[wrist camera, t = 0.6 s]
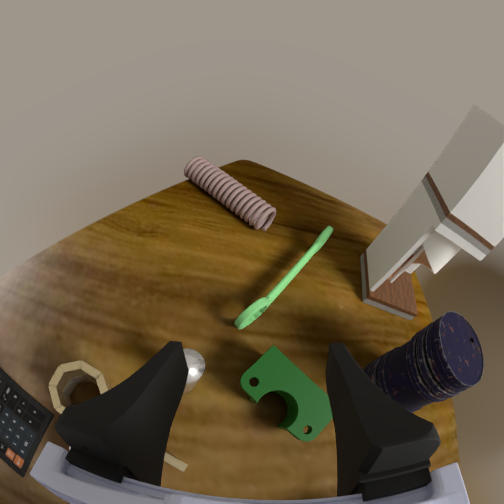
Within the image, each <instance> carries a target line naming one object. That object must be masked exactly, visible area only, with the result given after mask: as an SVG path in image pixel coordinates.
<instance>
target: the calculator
mask: <svg viewBox="0 0 504 504" xmlns="http://www.w3.org/2000/svg"><path fill="white" fill-rule="evenodd" d="M53 416H54V415H53V414H52V413H51V412H49V411H48V410H47V409H46V408H44V407H43V406H42V405H41V404H39V403H38V402H37V401H36V400H35V399H33V398H32V397H31V396H30V395H29V394H28V393H26V392H25V391H24V390H23V389H22V388H21V387H20V386H19V385H17V384H16V383H15V382H14V381H13V380H12V379H11V378H10V377H9V376H8V375H7V374H6V373H5V372H4V371H3V370H2V369H1V368H0V458H1V459H2V460H3V461H4V462H6V463H7V464H8V465H9V466H10V467H11V468H12V469H13V470H15V471H16V472H17V473H18V474H19V475H21V476H22V477H24V475H25V473H26V471H27V469H28V466H29V464H30V462H31V460H32V458H33V456H34V454H35V451H36V449H37V447H38V445H39V443H40V441H41V439H42V437H43V435H44V433H45V431H46V429H47V427H48V426H49V424H50V422H51V420H52V418H53Z"/></svg>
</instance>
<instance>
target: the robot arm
mask: <svg viewBox="0 0 504 504" xmlns="http://www.w3.org/2000/svg"><path fill="white" fill-rule="evenodd" d="M188 372H189V369H188V366H187V362H186V358H185V354H184V351H183V347H182V343H181V342H176V341H170V342H169V343H167V344H166V345H165V346H164V347H163V348H162V349H161V350H160V351H159V352H158V353H157V354H156V355H155V356H154V357H153V358H151V359H150V360H149V361H148V362H147V363H146V364H145V365H144V366H142V367H141V368H140V369H139V370H138V371H136V372H135V373H134V374H133V375H131V376H130V377H129V378H127V379H126V380H125V381H123V382H122V383H120V384H118V385H117V386H115V387H114V388H112V389H110V390H108V391H106V392H104V393H103V394H101V395H99V396H96V397H94V398H92V399H89V400H87V401H84V402H81V403H78V404H75V405H72V406H68V407H66V408H65V409H64V410H63V412H62V414H61V415H60V417H59V418H58V420H57V422H56V423H55V428H56V430H57V432H58V433H59V435H60V436H61V437H62V438H63V439H64V440H65V442H66V443H67V444H68V445H69V446H70V447H71V449H70V450H69V452H68V451H67V450H65V449H64V448H62V447H60V446H58V445H56V444H53V443H51V442H47V444H46V446H45V447H44V449H43V451H42V452H41V454H40V456H39V458H38V459H37V461H36V463H35V465H34V467H33V468H32V470H31V472H30V475H31V476H32V477H33V478H34V479H35V480H37V481H38V482H39V483H40V484H42V485H43V486H44V487H45V488H47V489H48V490H49V491H51V492H52V493H53V494H55V495H56V496H58V497H60V498H61V499H63V500H65V501H67V502H69V503H71V504H469V503H470V502H469V499H468V495H467V492H466V489H465V485H464V482H463V479H462V476H461V472H460V469H459V466H458V464H457V463H456V462H455V463H452V464H450V465H447V466H444V467H441V468H438V469H436V470H434V471H432V472H429V469H428V467H430V461H429V458H430V457H431V456H432V455H433V453H434V452H435V451H436V450H437V448H438V447H439V445H440V438H439V435H438V432H437V430H436V428H435V427H434V425H433V423H431V422H429V421H427V420H425V419H422V418H420V417H418V416H416V415H415V414H413V413H411V412H410V411H408V410H406V409H405V408H403V407H402V406H400V405H399V404H398V403H396V402H395V401H394V400H392V399H391V398H390V397H389V396H387V395H386V394H385V393H384V392H383V391H382V390H381V389H380V388H379V387H378V386H377V385H376V384H375V383H374V382H373V381H372V380H371V379H370V378H369V377H368V376H367V374H366V373H365V372H364V371H363V370H362V368H361V367H360V366H359V365H358V363H357V362H356V361H355V359H354V358H353V357H352V355H351V354H350V352H349V351H348V349H347V348H346V346H345V345H344V344H343V343H342V342H338V343H330V345H329V352H328V360H327V366H326V384H327V392H328V397H329V402H330V407H331V412H332V417H333V421H334V426H335V433H336V447H337V476H338V484H337V497H331V498H320V499H306V500H250V499H235V498H225V497H216V496H208V495H201V494H195V493H189V492H183V491H178V490H173V489H168V488H164V487H160V486H161V476H162V468H163V462H164V456H165V451H166V446H167V441H168V436H169V432H170V428H171V425H172V422H173V419H174V416H175V413H176V411H177V408H178V406H179V403H180V400H181V398H182V395H183V392H184V389H185V386H186V382H187V377H188Z"/></svg>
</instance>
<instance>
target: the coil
mask: <svg viewBox="0 0 504 504" xmlns="http://www.w3.org/2000/svg"><path fill="white" fill-rule="evenodd" d="M196 161H197V162H196ZM193 163H194V164H193ZM192 164H193V165H192ZM198 165H199V166H198ZM191 166H192V167H191ZM197 166H198V167H197ZM190 167H191V168H190ZM196 167H197V168H196ZM195 168H196V169H195ZM189 169H190V170H189ZM194 170H195V171H194ZM188 171H189V172H188ZM184 175H185V176H186V177H188V178H189V179H190V180H192V181H193V182H194V183H196V184H197V185H198V186H200V187H201V188H202V189H204V190H205V191H206V192H208V193H209V194H210V195H213V197H214V198H217V200H218V201H219V202H221V203H222V204H223V205H226V207H227V208H230V210H231V211H232V212H235V214H236V215H240V218H241V219H244V220H245V222H249V225H250V226H254V228H255V229H256V230H257V229H259V228H260V227H261V226H262V225H263V224H264V223H265V221H266V220H267V218H268V217H269V215H270V213H271V215H270V217H269V219H268V221H267V222H266V224H265V225H264V226H263V227H262V228H261V229H262V230H264V231H266V230H267V229H268V227H269V226H270V224H271V223H272V221H273V220H274V217H275V215H276V209H275V208H274V207H271V205H270V204H267V203H266V201H265V200H262V199H261V198H260V197H258V196H257V195H256V194H255V193H252V191H251V190H248V189H247V187H245V186H243V185H242V184H241V183H238V181H237V180H234V179H233V178H232V177H230V176H229V175H228V174H226V173H225V172H224V171H222V170H221V169H220V168H217V167H216V166H215V165H213V164H212V163H211V162H208V160H206V159H204V158H203V157H202V156H197V157H195V158H193V159H192V160H190V161H189V163H188V164H187V166H186V167H185V169H184ZM220 180H221V181H220ZM224 183H225V184H224ZM204 184H205V185H204ZM208 187H209V188H208ZM228 187H229V188H228ZM227 188H228V189H227ZM213 189H214V190H213ZM226 190H227V191H226ZM225 191H226V192H225ZM232 191H233V192H232ZM231 192H232V194H231V195H230V193H231ZM223 194H224V195H223ZM222 195H223V196H222ZM229 195H230V196H229ZM236 195H237V196H236ZM228 196H229V198H228V199H227V197H228ZM235 196H236V197H235ZM234 197H235V199H234ZM233 199H234V200H233ZM240 199H241V200H240ZM232 200H233V201H232ZM238 202H239V203H238ZM237 203H238V204H237ZM261 205H262V206H261ZM265 209H267V210H266V211H265Z"/></svg>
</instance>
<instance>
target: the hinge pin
mask: <svg viewBox="0 0 504 504" xmlns="http://www.w3.org/2000/svg"><path fill="white" fill-rule="evenodd" d="M183 351H184V354H185V358H186V362H187V366H188V369H189V372H188V377H187V382H186V386H185V389H184V392H183V395H185V394H188V393H190V392H191V391H192V390H193V388H194V386H195V385H196V383H197V382H198V380H199V379H200V377H201V376H202V374H203V372H204V370H205V362H204V359H203V357H202V356H201V355H200V354H199V353H198V352H197V351H195V350H192V349H183Z"/></svg>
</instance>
